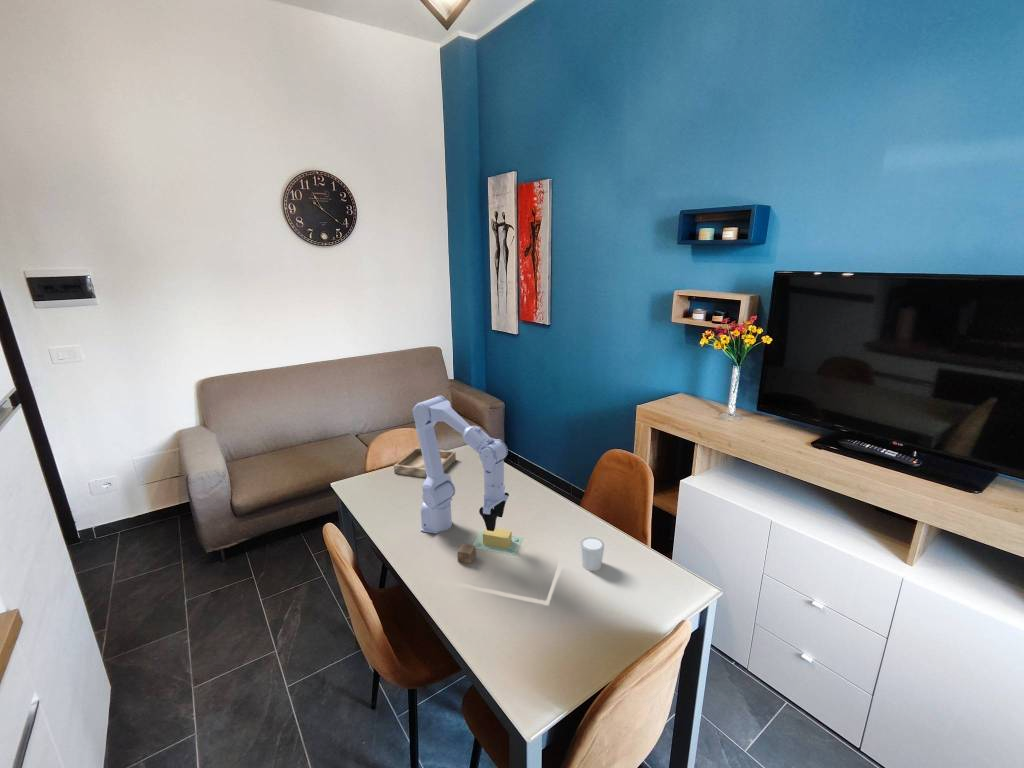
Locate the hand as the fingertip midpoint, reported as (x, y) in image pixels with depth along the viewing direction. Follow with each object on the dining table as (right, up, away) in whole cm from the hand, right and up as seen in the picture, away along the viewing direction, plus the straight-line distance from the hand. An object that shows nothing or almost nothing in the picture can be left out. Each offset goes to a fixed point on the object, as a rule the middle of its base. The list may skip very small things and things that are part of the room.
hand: (494, 523), depth 140 cm
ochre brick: (+1, -7, +5) cm, 9 cm away
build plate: (+1, -8, +5) cm, 10 cm away
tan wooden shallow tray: (-31, +7, +59) cm, 67 cm away
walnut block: (-8, -11, -2) cm, 14 cm away
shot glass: (+28, -11, -4) cm, 30 cm away
